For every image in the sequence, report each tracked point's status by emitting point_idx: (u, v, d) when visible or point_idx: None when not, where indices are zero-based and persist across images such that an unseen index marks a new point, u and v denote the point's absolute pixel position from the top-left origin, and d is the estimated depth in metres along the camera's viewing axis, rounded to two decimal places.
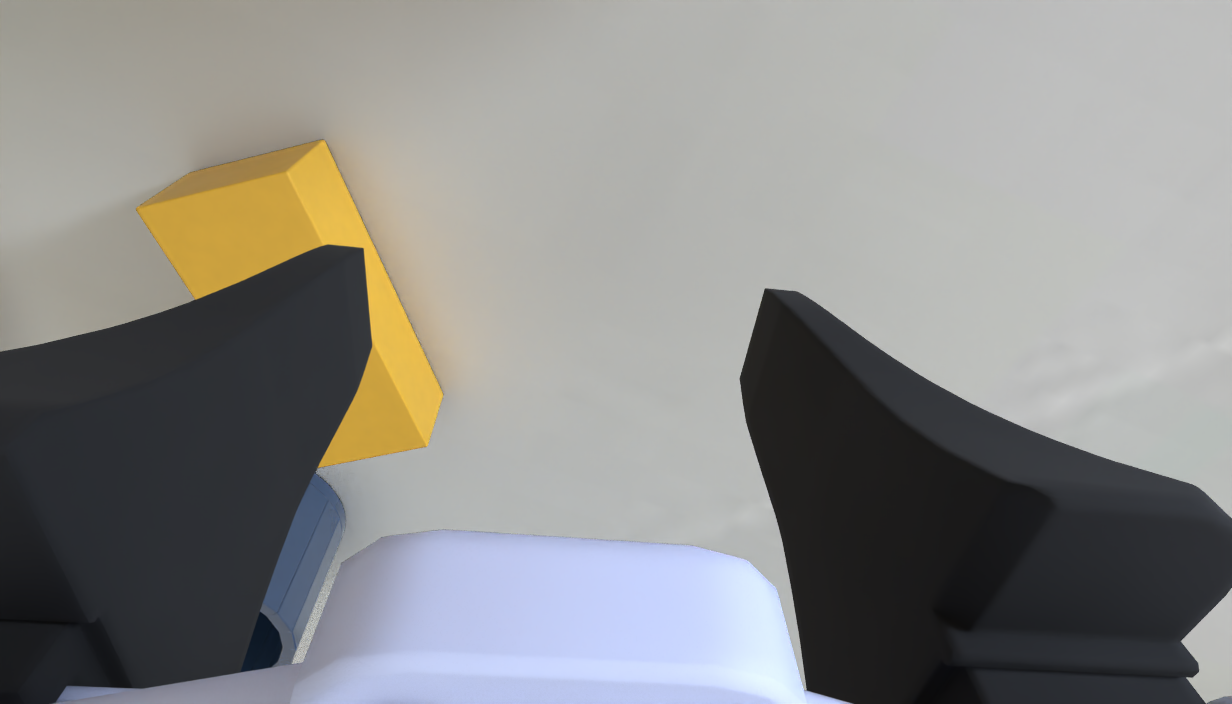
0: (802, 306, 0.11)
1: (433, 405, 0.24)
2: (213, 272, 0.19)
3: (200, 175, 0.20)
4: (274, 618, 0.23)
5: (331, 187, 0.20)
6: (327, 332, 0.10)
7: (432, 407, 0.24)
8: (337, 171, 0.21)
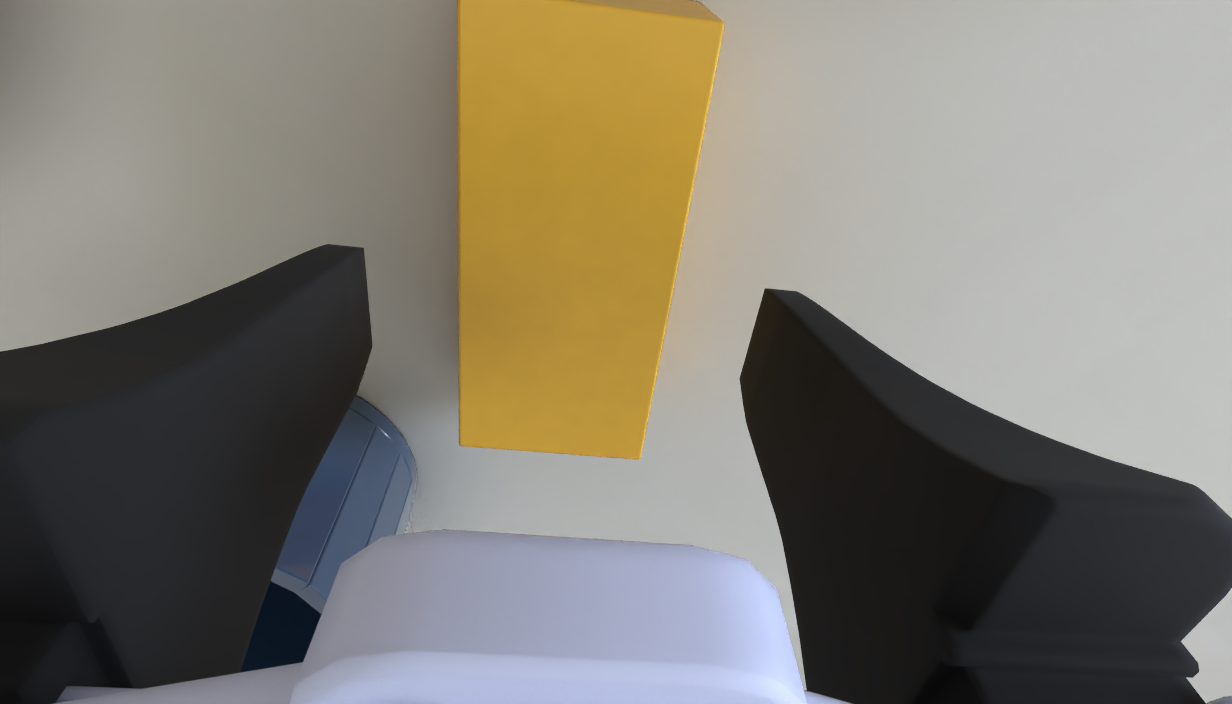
0: (802, 306, 0.11)
1: None
2: (514, 131, 0.12)
3: None
4: None
5: None
6: (327, 332, 0.10)
7: None
8: None
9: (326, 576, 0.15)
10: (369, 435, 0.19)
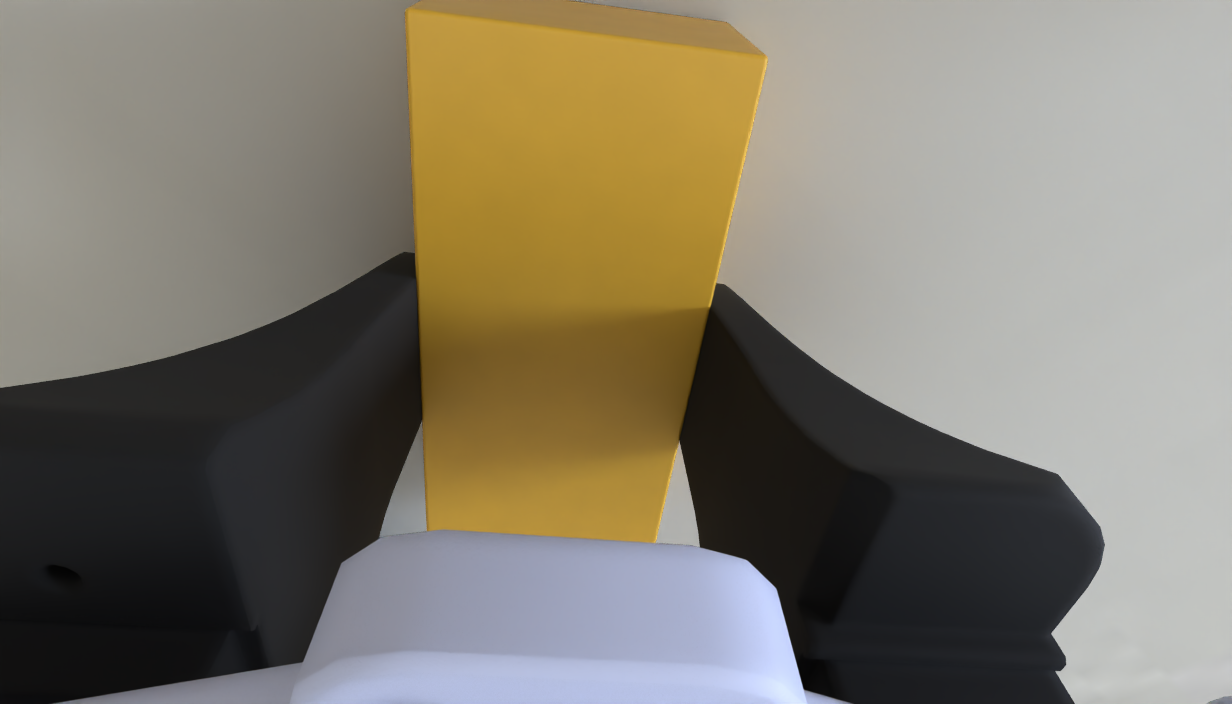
0: (721, 299, 0.11)
1: None
2: (487, 196, 0.09)
3: None
4: None
5: None
6: (412, 340, 0.10)
7: None
8: None
9: None
10: None
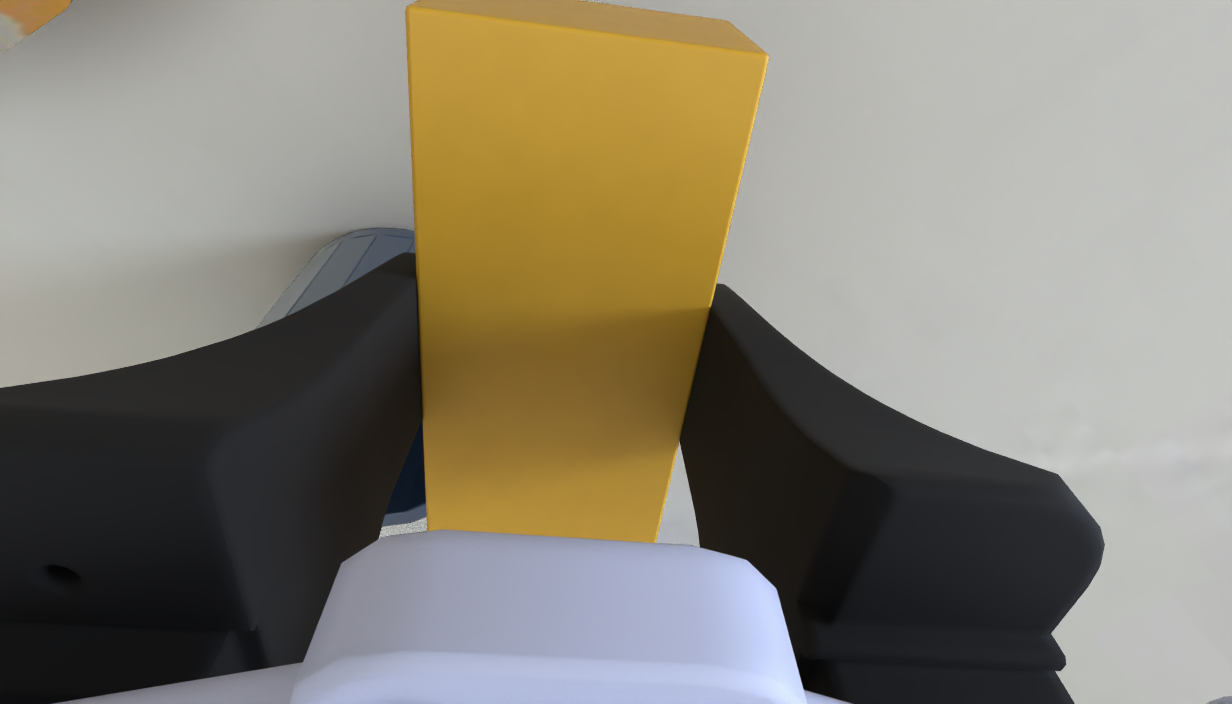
0: (721, 298, 0.11)
1: None
2: (487, 195, 0.09)
3: None
4: None
5: None
6: (412, 340, 0.10)
7: None
8: None
9: None
10: None
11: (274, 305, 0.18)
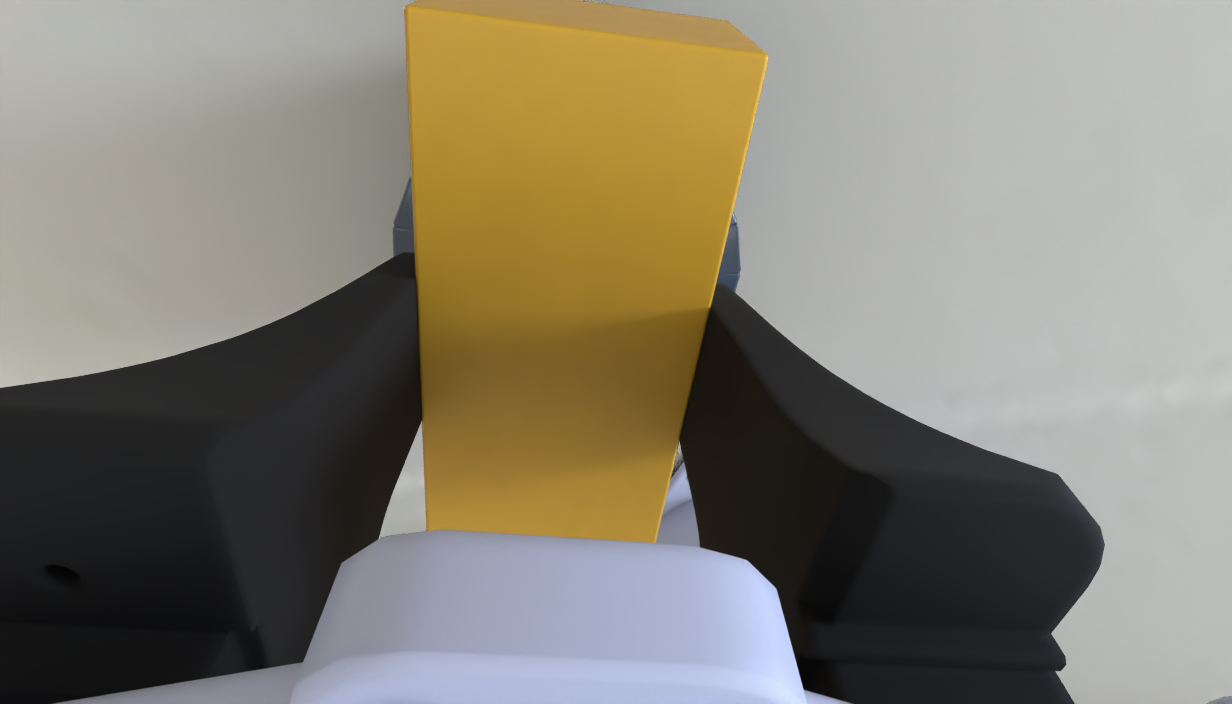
0: (721, 298, 0.11)
1: None
2: (486, 195, 0.09)
3: None
4: (726, 282, 0.14)
5: None
6: (412, 340, 0.10)
7: None
8: None
9: None
10: None
11: None
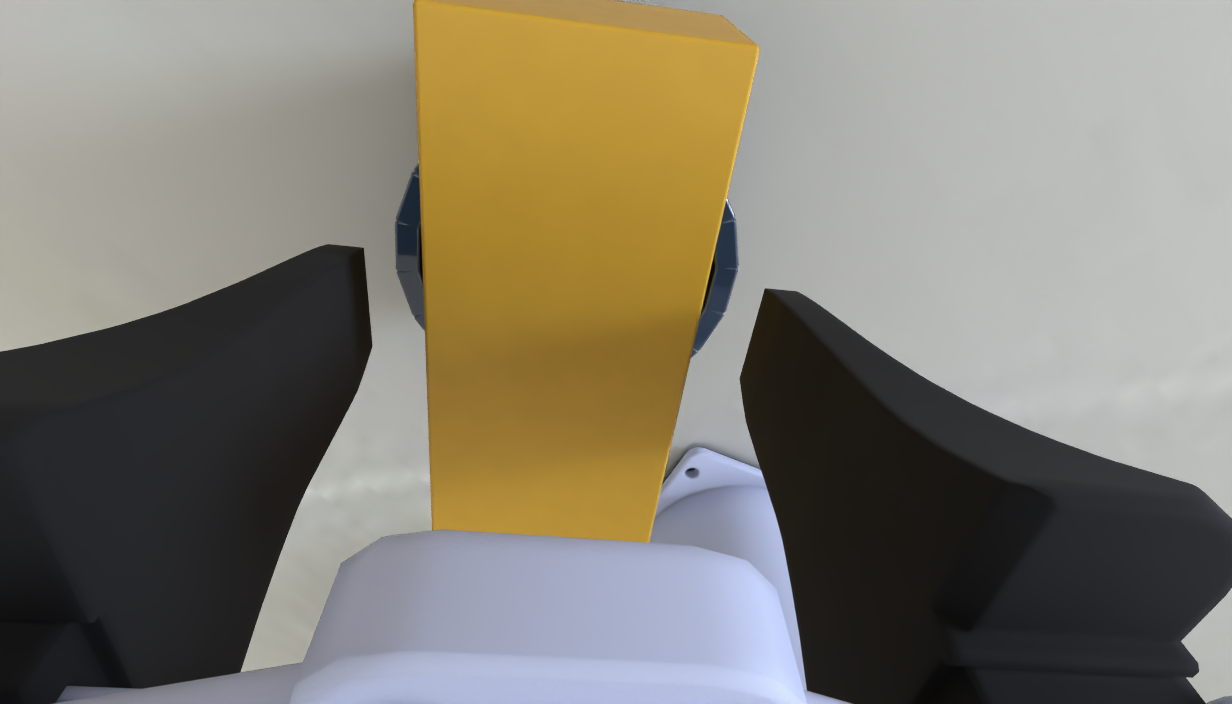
0: (802, 307, 0.11)
1: None
2: (491, 181, 0.10)
3: None
4: (724, 277, 0.14)
5: None
6: (327, 332, 0.10)
7: None
8: None
9: None
10: None
11: None
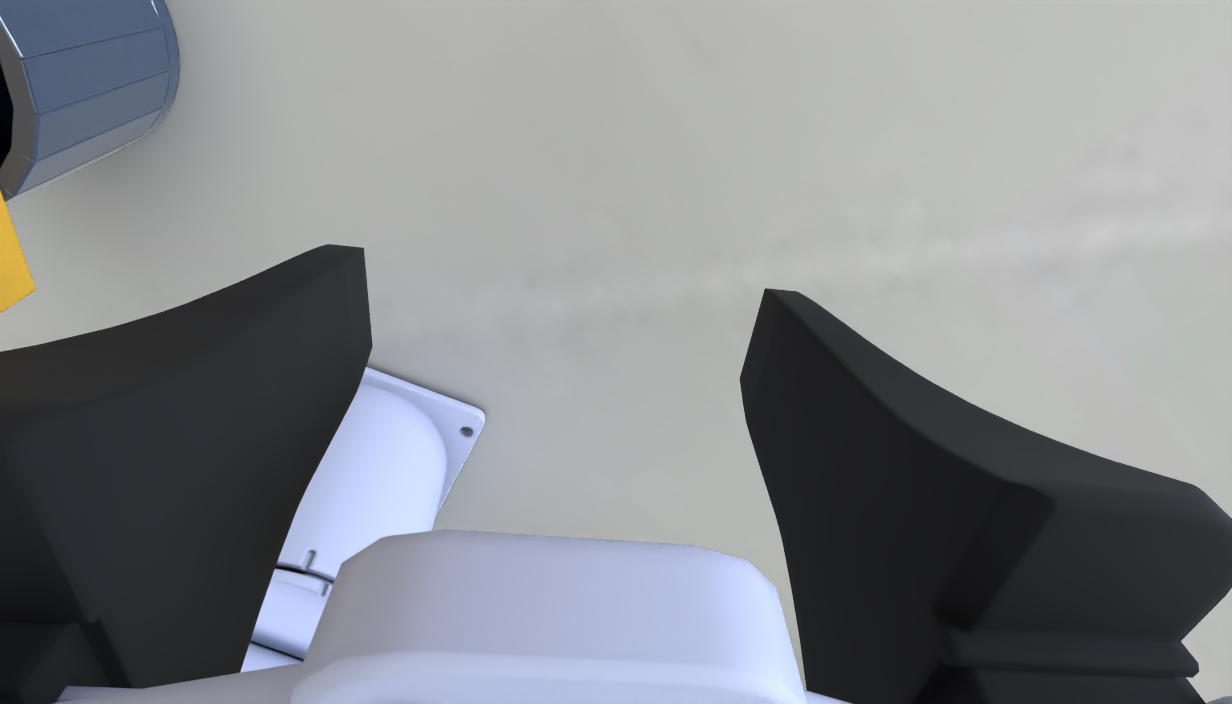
0: (802, 306, 0.11)
1: None
2: None
3: None
4: (13, 70, 0.14)
5: None
6: (327, 332, 0.10)
7: None
8: None
9: None
10: None
11: None
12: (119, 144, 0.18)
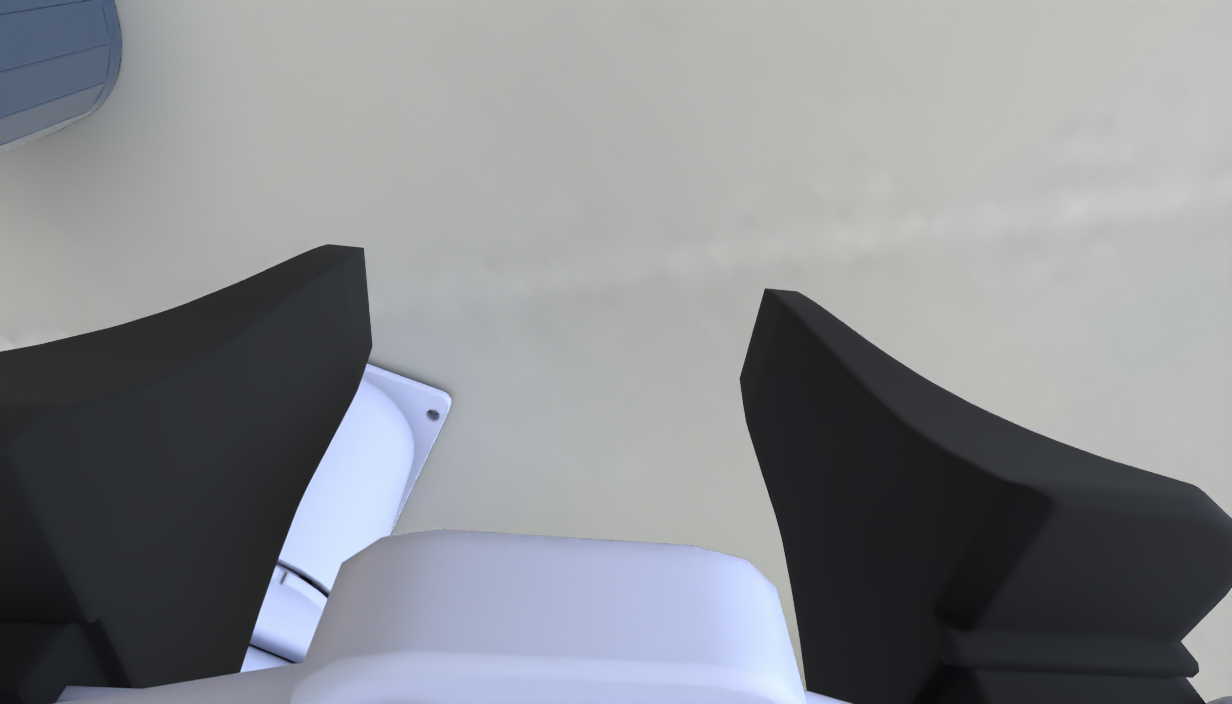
0: (802, 306, 0.11)
1: None
2: None
3: None
4: None
5: None
6: (327, 332, 0.10)
7: None
8: None
9: None
10: None
11: None
12: (58, 119, 0.18)
